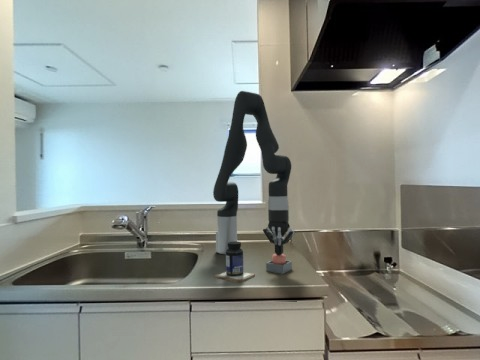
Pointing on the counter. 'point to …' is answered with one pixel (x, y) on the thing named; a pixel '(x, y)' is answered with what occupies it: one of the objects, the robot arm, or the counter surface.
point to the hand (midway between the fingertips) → (279, 254)
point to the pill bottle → (234, 259)
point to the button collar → (279, 267)
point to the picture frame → (235, 277)
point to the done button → (279, 259)
